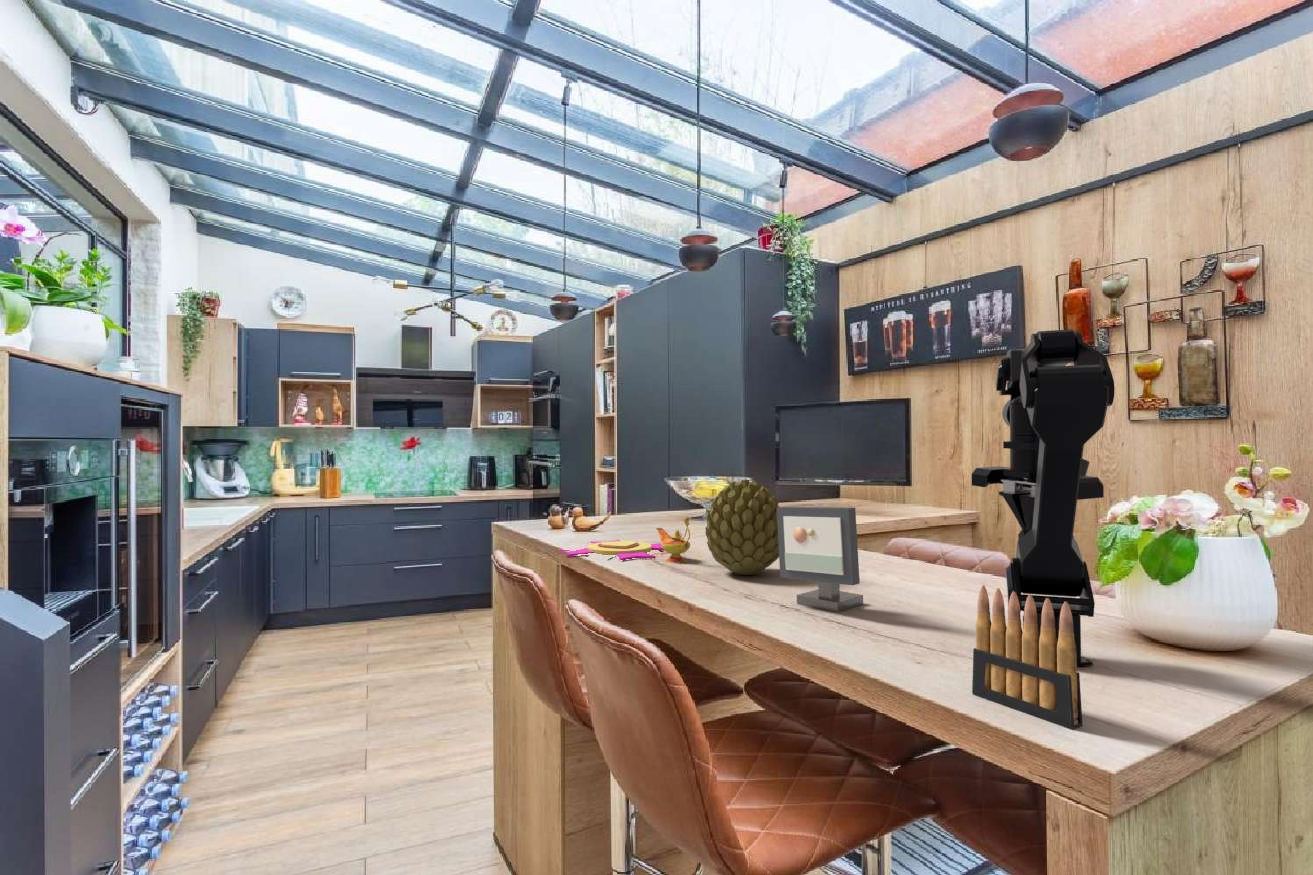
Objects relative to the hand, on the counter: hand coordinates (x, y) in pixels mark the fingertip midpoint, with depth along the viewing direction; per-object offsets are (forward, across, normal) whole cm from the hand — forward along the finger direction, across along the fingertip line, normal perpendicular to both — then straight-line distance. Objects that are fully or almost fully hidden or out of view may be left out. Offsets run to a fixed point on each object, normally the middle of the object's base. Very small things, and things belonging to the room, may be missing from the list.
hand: (1032, 540), depth 98 cm
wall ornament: (+17, +89, +44) cm, 101 cm away
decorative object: (+15, +51, +25) cm, 58 cm away
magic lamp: (+16, +72, +34) cm, 82 cm away
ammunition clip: (+11, -24, +25) cm, 37 cm away
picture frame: (+8, +18, +25) cm, 32 cm away
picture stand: (+13, +22, +21) cm, 33 cm away
